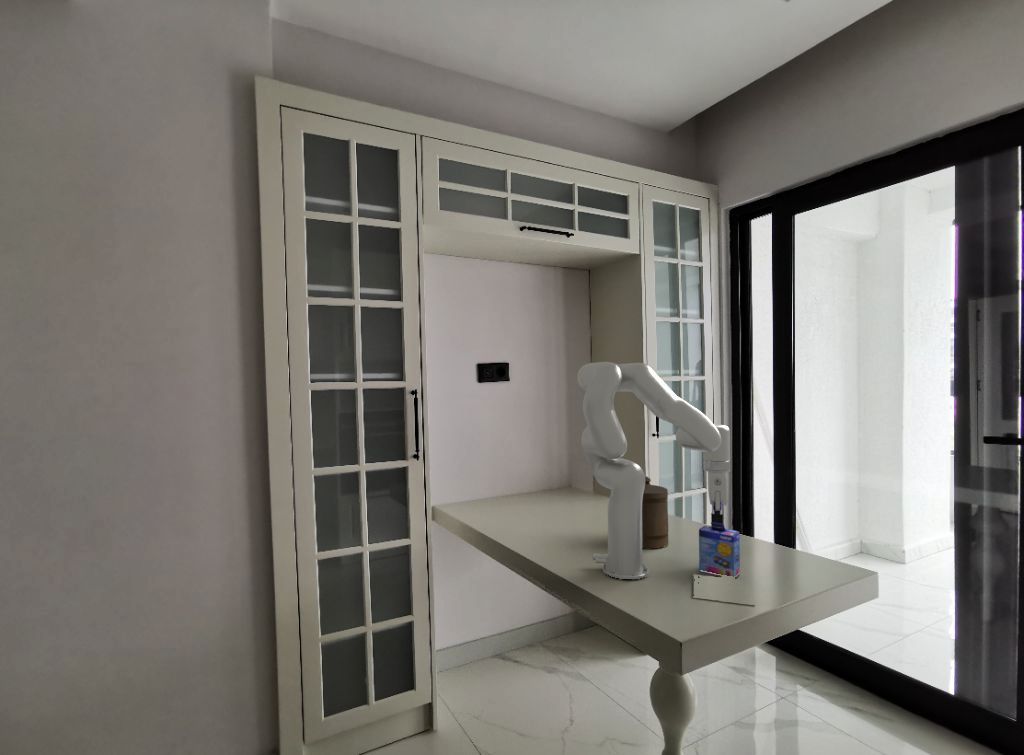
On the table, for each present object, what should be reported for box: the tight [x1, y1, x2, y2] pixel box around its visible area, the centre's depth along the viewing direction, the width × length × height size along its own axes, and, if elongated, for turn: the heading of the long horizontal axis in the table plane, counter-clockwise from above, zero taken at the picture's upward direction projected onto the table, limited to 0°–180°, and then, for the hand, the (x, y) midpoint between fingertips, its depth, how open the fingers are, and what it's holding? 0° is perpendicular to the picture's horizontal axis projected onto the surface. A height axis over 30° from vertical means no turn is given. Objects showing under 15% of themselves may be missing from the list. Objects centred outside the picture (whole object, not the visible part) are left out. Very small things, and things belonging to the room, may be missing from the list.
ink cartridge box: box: [698, 521, 741, 577], centre depth 143 cm, size 10×6×14 cm, turn 51°
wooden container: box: [642, 475, 669, 549], centre depth 171 cm, size 15×15×22 cm
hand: (717, 526), depth 153 cm, fingers closed
